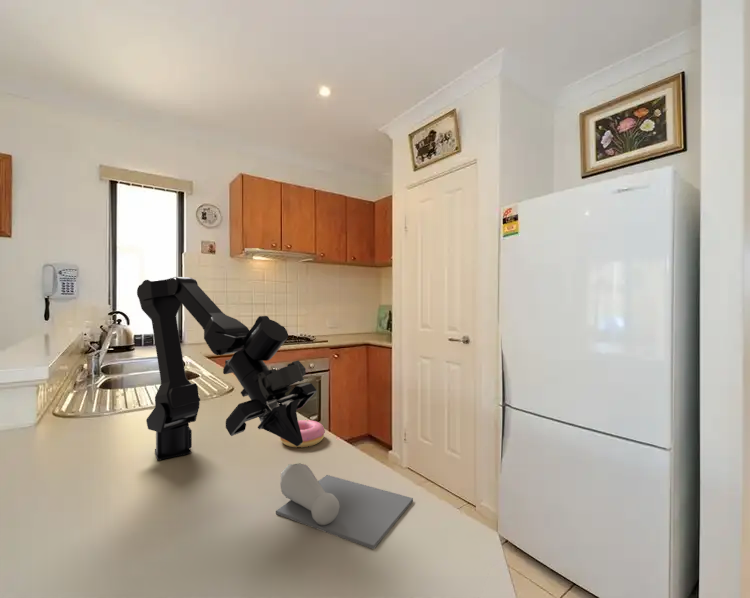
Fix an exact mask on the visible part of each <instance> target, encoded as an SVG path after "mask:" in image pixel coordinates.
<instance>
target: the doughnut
mask: <svg viewBox="0 0 750 598" xmlns="http://www.w3.org/2000/svg"><path fill="white" fill-rule="evenodd" d="M298 424H299V428H300V431H301V435H302V439H303V443H302V444H301V445H299V446H296V445H294V444H292V443H290V442H288V441H287V440H285V439H283V438H281V437H279V439H280V441H281V443H282V444H284V445H285V446H287V447H290V448H297V447H301V448H308V446H309V447H313V446H315V445H318V444H319V443H320V442H321V441H322V440H323V438H324V437H325V433H326V430H325V426H324V425H323V424H322V423H320V422H319V421H316V420H312V419H310V420H309V419H301V420H300V419H299V420H298Z"/></svg>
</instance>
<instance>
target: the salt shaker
mask: <svg viewBox="0 0 750 598" xmlns="http://www.w3.org/2000/svg"><path fill="white" fill-rule="evenodd" d="M315 475H316V474H314V472H313V471H312V470H311V468H310V467H309V465H307V464H304V463H301V462H300V463H299V462H298V463H293V464H292V463H290V464H288V465H287V466H286V467H285V468H284V469H283V470H282V471H281V472H280V491H281V493H282V495H283V496H284V497H285V498H287V499H288V500H289V501H290V500H292V501H294V502H296V503H297V504H299V505H301V506H303V507H305V508H307V509H309V510H310V511H311V513H312V517H313V519H314V520H315V521H316V522H317V523H318V524H320V525H327V524H329V523H331V522H332V521H333V520H334V519H335V518H336V516H337V515H338V512H339V508H340V506H339V501H338V500H337V498H336V497H335V496H334V495H333V494H331V493H325V491H324V490H323V488H322V487H321V485H320V484H319V482H318V481H319V480H318V479H317V477H316V476H315Z"/></svg>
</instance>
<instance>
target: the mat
mask: <svg viewBox="0 0 750 598" xmlns="http://www.w3.org/2000/svg"><path fill="white" fill-rule="evenodd" d="M318 482H319V484H320V485H321V487H322V488H323V490H324V491H325V493H331V494H333V495H334V496H335V497H336V498H337V500H338V501H339V506H340V508H339V512H338V515H337V516H336V518H335V519H334V520H333V521H332V522H331V523H329V524H327V525H320V524H318V523H317V522H316V521H315V520H314V519H313V517H312V513H311V511H310V510H309V509H307V508H305V507H303V506H301V505H299V504H297V503H296V502H294V501H292V500H290V499H289V501H288V502H286V503H284V504H283V505H282V506H280V507H278V508H277V509H276V510H275V514H276V515H278V516H281V517H284V518H285V519H288V520H289V519H290V520H292V521H295V522H297V523H300V524H302V525H306V526H308V527H311V528H314V529H316V530H320V531H323V532H325V533H328V534H330V535H333V536H336V537H339V538H342V539H344V540H348V541H350V542H352V543H355V544H357V545H361V546H364V547H366V548H369V549H371V550H374V549H376V547H377V546H378V545H379V543H380V542H381V541H382V540H383V538H384V537H385V536H386V535H387V534H388V533H389V531H390V530H391V529H392V528H393V527H394V525H395V524H396V522H398V520H399V519H400V517H401V516H402V515H403V514H404V513H405V512H406V511H407V509H408V508H409V507H410V506H411V504H412V503H413V502H414V497H410V496H407V495H402V494H399V493H395V492H392V491H388V490H386V489H385V490H384V489H382V488H381V489H380V488H377V487H374V486H370V485H366V484H362V483H359V482H354V481H351V480H348V479H345V478H340V477H336V476H333V475H330V474H326V475H324V476H323V477H322V478H320V479H319V480H318Z"/></svg>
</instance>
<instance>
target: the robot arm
mask: <svg viewBox="0 0 750 598" xmlns="http://www.w3.org/2000/svg"><path fill="white" fill-rule="evenodd" d="M136 294H137V298H138V301H139V304H140V307H141V310H142V311H143V313H144V314H145V315H146V316H147V317H148V318H149V319H150V321H151V325H152V332H153V339H154V346H155V351H156V357H157V363H158V370H159V376H160V384H159V385H160V386H159V387H158V390H157V392H156V394H155V397H154V403H155V404H154V408H153V410H152V411H151V413H150V414H149V415H148V417H147V418H146V420H145V421H146V426H147V429H148V430H149V431H153V432H155V448H154V453H155V457H156V459H157V461H163V460H166V459H167V460H168V459H171V458H176V457H179V456H184V455H189V454H191V452H192V451H191V449H192V445H193V443H192V442H193V441H192V433H193V432H192V429H191V427H190V426H189V425H190V424H189V423H194V422H197V417H198V413H199V410H200V405H201V404H200V402H201V398H200V395H199V387H198V384H197V383H192V382H190V381H189V379H188V378H187V376H186V372H185V371H186V370H185V364H184V359H183V357H184V356H183V351H182V346H181V339H180V332H179V327H178V321H177V314H178V313H179V311H180V308H181V306H182V305H183V306H184V308H185V309H186V310H187V311H188V312H189V314H190V315H191V316H192V317H193V319H195V321H196V322H197V323H198V324H199V325H200V326H201V328H202V329H203V340H204V342H206V345H207V347H208V348H209V350H210V351H211V352H212V354H214V355H215V356H223V355H230V354H233V355H232V356H231V358H230V359H225V361H224V363H225V364H224V367H223V370H222V373H223V374H224V375H228V374H229V375H230V374H234V376H235V378H236V379H237V380H238V383H239V384H240V385H241V387H242V388H243V389H242V390H241V391H240V395H241V396H242V397H243V398H244V397H247V396H248V397H249V399H250V400H248V401H247V400H246V401H243V402H241V403H238V405H236V407H235V408H234V409H233V411H232V412H231V413H230V414H229V415H228V417H227V418H226V420H225V429H226V430H227V432H228V433H229V435H230V436H231V437H233V436H235V435H238V434H240V433H243V432H244V431H245V430H246V428H247V423H246V422H249V421H251V420H254V419H256V418H258V419H259V422H260V423H259V424H258V426H257V429H258V430H264V431H267V432H268V433H271V434H274V435H275V436H277V437H279V438H280V437H281V438H283V439H285V440H287V441H288V442H290V443H292V444H294V445H296V446H299V445H301V444H302V443H303V439H302V435H301V431H300V428H299V424H298V421H299V420H298V415H297V411H298V410H300V409H302V408H304V406H305V405H306V404H307V403H308V402H309V401H310V399H312V397H313V396H314V395H315V394H316V393H317V392H318V391H317V389H316V387H315V386H314V385H313V383H311V382H304V383H301V382H303V381H305V379H304V376H306V367H305V366H304V365H303V364H302V363H301V362H300V360H294V361H292V362H291V363H288V364H286V365H287V366H283V367H281V368H279V369H275V368H272V369H270V368H269V367H268V366H267V365H266V363H265V362H268V361H271V359H272V358H273V357H274V356H275V355H276V354H277V352H278V351H279V349H280V348H281V347H282V346H283V345H284V343H285V342H286V341H287V340H288V338H289V334H288V330H287V329H286V327H285V326H283V325H281V324H280V323H279V322H277V321H275V320H274V319H273V320H272V319H270V317H269V316H268V315H259V316H258V317H257V319H255V322H254V324H253V326H252V327H250V329H249V328H248V327H247V326H246V325H245V324H244V323H243V322H241V321H240V320H238V319H236V318H234V317H232V316H229V315H227V314H226V313H225V312H223V311H222V310H221V309H220V308H219V306H218V305H217V304H216V303H214V301H213V300H212V299H211V298H210V297H209V296H208V294H207V293H205V292H204V290H203V289H202V288H201V287H200V286H199V284H198V281H197V280H196V279H195V278H192V277H186V276H185V277H184V276H174V277H170V278H167V279H144V280H143V281H142V283H141V284H139V285H138V287H137V291H136ZM298 382H300V383H301V384H298V385H295V386H294V388H292V385H294V384H296V383H298ZM286 393H289V394H286Z"/></svg>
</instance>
